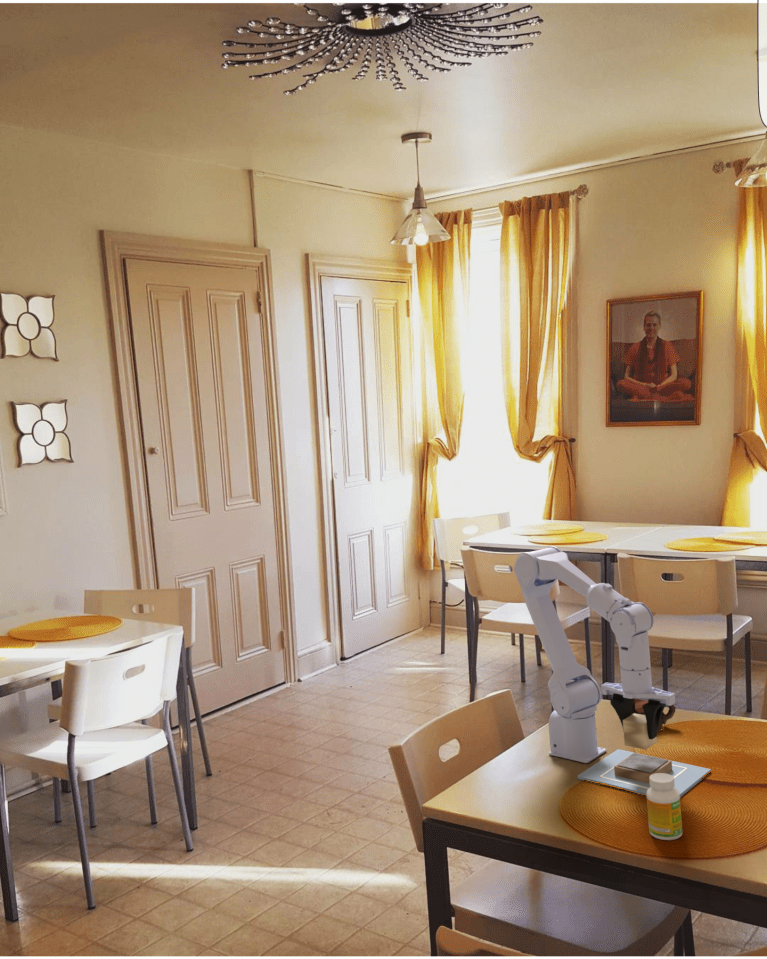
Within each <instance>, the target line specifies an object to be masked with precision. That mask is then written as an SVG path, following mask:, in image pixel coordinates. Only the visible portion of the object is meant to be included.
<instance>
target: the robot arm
mask: <svg viewBox="0 0 767 959" xmlns="http://www.w3.org/2000/svg"><path fill="white" fill-rule="evenodd" d="M513 571H514V574H515V576H516V580H517V582H518V584H519V586H520V589H521V595H522V598H523V600H524V602H525V605H526V608H527V610H528V613H529V615H530V617H531V620H532V623H533V625H534V627H535V630H536V632H537V635H538V638H539V640H540V642H541V646H542V647H543V650H544V652H545V655H546V657H547V659H548V663H549V665H550V668H551V670H552V674H551V677H550V678H549V681H548V682H547V687H548V691H549V694H550V703H551V705H552V708H553V711H552V712H551V714H550V715H549V719H548V734H549V745H550V747H549V748H550V750H549V751H548V755H550V756H554V757H558V758H562V759H566V760H570V761H576V762H579V763H582V764H583V763H584V764H589V763H590V762H592V761H593V760H595V759H597V758H598V757H600V756H601V755H602V754H604V753H605V752H607V748H604V747H600V746H599V745H598V736H597V723H596V712H597V711H598V710H597V707H598V706H597V705H599V704H600V703H601V700H602V695H604V696H608V695H612V698H611V699H610V701H609V702H610V705H611V707H612V708H613V710H614V711H615V712H616V715H617V717H618V719H619V720H620V723H621V727H623V720H624V719H626V718H627V717H629V716H631V715H632V705H633V698H634V699H640V700H646V701H648V703H646V704H644V705H643V706H642V707H643V710H644V713H645V717H646V721H647V732H648V737H649V739H654V738H655V737H657V738H658V731H657V730H658V725H659V721H660V718H661V715H662V712H664V710H665V707H668V706H671V705H674V704H675V703H676V695H675V692H670V691H667V690H663V689H660V688H656V687H654V686H653V683H652V682H653V679H652V667H651V666H652V664H651V653H650V641H649V638H650V637H649V631H651V630H652V628H653V626H654V615H653V613H652V611H651V609H650V608H649V607H648V606H647V605H646V604H645V603H644V602H642V601H641V602H640V601H638V602H637V601H636V602H634V601H633V600H631V599H629V598H628V597H625V596H623V595H622V594H620V593H619V592H618V591H616V590H615V589H614V588H613V585H611V584H610V583H609V582H608V583H605V582H600V583H596V582H595V581H594V580H593V579H591V578H590V577H589V576H588V575H587V574H586V573H585V572H583V571H582V570H580V568H578V567H577V566H576V565H575V564H573V563H572V562H571V561H570V560H569V556H568V554H567V553H566V552H564V551H562V550H561V549H560V548H559V547H557V546H554V545H552V546H548V547H547V548H545V547H544V548H542V549H537V550H533V551H528V552H526V551H525V552H521V553H520V554H518V556H517V557H516V560H515V563H514V566H513ZM558 580H559V581H560V582H561V583H563V584H565V585H566V586H567V587H570V589H572V590H574V591H575V592H577V593H579V594H580V595H581V596H583V597H585V601H586V605H587V607H589V608H590V609H591V610H592V611H594V612H596V613H597V614H598V615H599V616H600V617H602V618H603V619H605V621H607V622H608V623H609V626H610V629H611V631H612V632H613V634H614V636H615V642H616V643H617V646H618V655H619V656H618V658H619V669H620V670H619V671H620V681H621V683H616V682H613V683H612V682H604V683H603V684H601V687H600V685H599V683H598V682H597V681H596V679H594V677H593V676H592V674H591V671H590V670H589V668H587V667H585V666H583V665H582V664H579V663H578V661H577V658H576V657H575V654H574V650H573V649H572V647H571V644H570V641H569V639H568V637H567V634H566V632H565V629H564V627H563V625H562V623H561V620H560V617H559V615H558V613H557V609H556V607H555V605H554V603H553V600H552V598H551V595H550V593H551V590H552V588H553V587H554V586H555V584H556V583H557V581H558ZM568 680H574V681H573V682H570V683H567V681H568ZM666 705H668V706H666ZM622 729H623V728H622ZM623 731H624V729H623Z"/></svg>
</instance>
